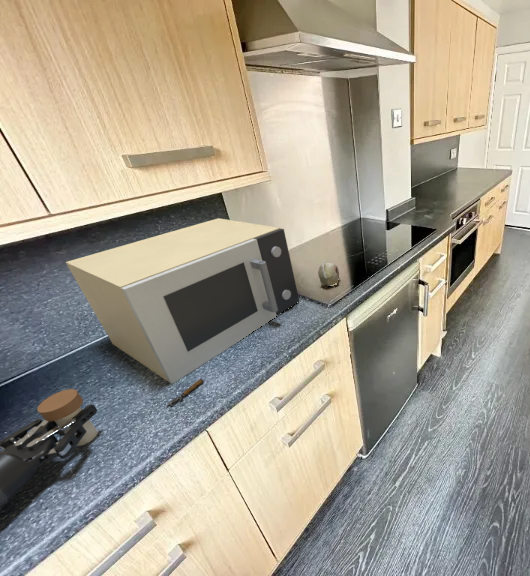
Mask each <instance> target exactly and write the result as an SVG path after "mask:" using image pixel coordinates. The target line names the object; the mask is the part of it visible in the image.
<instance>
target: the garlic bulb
mask: <svg viewBox="0 0 530 576" xmlns="http://www.w3.org/2000/svg"><path fill="white" fill-rule="evenodd" d="M317 275H318V278H319V283H320V285H321V286H325V285H327V286H326V287H328V286H330V285H333V284H335V283H338V284H339V282H338V279H339V280H340V270H339V268H338V265H336V264H335V263H333V262H328V261H323V262H322V263H321V264H320V266H319V267H318V271H317Z"/></svg>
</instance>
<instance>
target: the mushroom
mask: <svg viewBox="0 0 530 576" xmlns="http://www.w3.org/2000/svg"><path fill="white" fill-rule="evenodd" d="M83 404H84V399H83V397H82V396H81V395H80V392H79V391H78V390H76V389H74V388H68V389H64V390H61V391H57V392H56V393H54V394H51V395H49V396H47V398H45V399H44V400H43V401H41V402H40V404H39V405H38V407H37V409H36V410H37V412H38V413H39V414H40V416H41V417H42V419H43V420H46V421H55V422H56V423H57V425H58V427H61V426H62V425H64V424H65V423H67V422H68V421H70V420H71V419H72V418H73V417H74V416H76V415H77V414H78V413H79V412H80V411H81V410H83V408H82V405H83ZM83 427H84V428H85V430H86V431H87V432H86V433H85V435H84V436H83V437H82V439H81V440H80V441H79V443H78V444H77V445H76V447H81V446H84V445H86V444H88V443H90V442H91V441H93V440H94V439H95V438H96V437H97V436H98V433H99V431H98V429H97V428H96V426H95V425H94V424H93V422H92V421H91V419H89V420H88V421H87V422H86V423H85V424H84V425H83ZM70 428H71V427H69V428H68V429H66V430H65V431H64V433H65V434H66V433H67V432H68V431H69V429H70ZM76 434H77V433H76ZM76 434H75V435H76Z"/></svg>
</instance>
